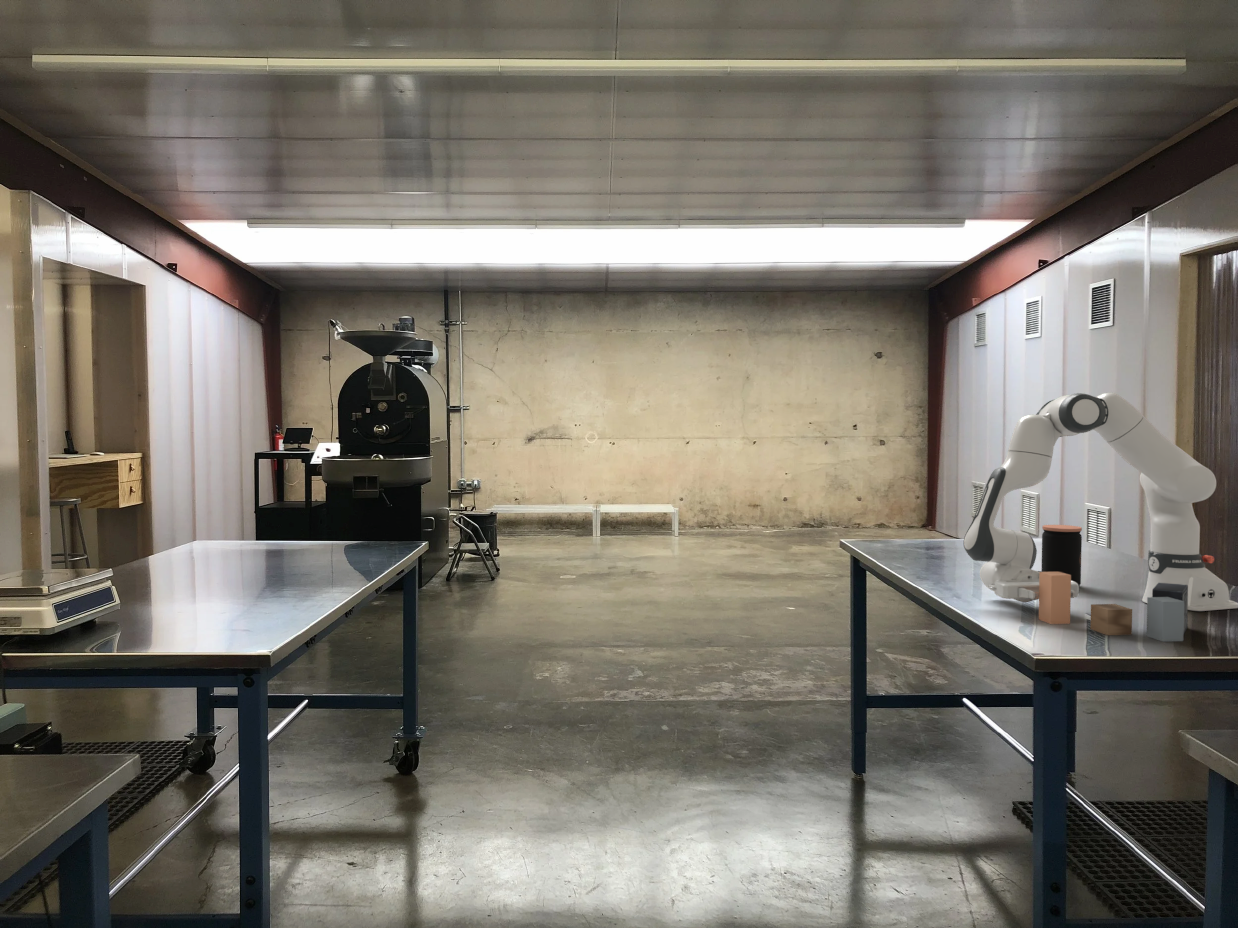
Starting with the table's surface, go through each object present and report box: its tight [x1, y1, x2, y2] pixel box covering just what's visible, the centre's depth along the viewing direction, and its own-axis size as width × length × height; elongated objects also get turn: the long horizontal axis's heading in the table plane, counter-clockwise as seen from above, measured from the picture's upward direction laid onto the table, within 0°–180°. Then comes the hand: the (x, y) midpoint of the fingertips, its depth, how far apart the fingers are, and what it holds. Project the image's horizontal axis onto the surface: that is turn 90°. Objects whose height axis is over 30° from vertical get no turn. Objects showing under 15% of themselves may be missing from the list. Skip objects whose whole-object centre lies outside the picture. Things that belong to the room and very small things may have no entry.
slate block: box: [1146, 597, 1185, 643], centre depth 189 cm, size 5×5×9 cm
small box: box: [1152, 583, 1189, 636], centre depth 197 cm, size 11×6×10 cm, turn 141°
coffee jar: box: [1040, 524, 1083, 587], centre depth 252 cm, size 11×11×18 cm
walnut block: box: [1090, 603, 1133, 636], centre depth 195 cm, size 6×6×6 cm
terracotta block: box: [1038, 572, 1072, 625], centre depth 206 cm, size 5×5×12 cm
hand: (1053, 595), depth 206 cm, fingers open, 8 cm apart
